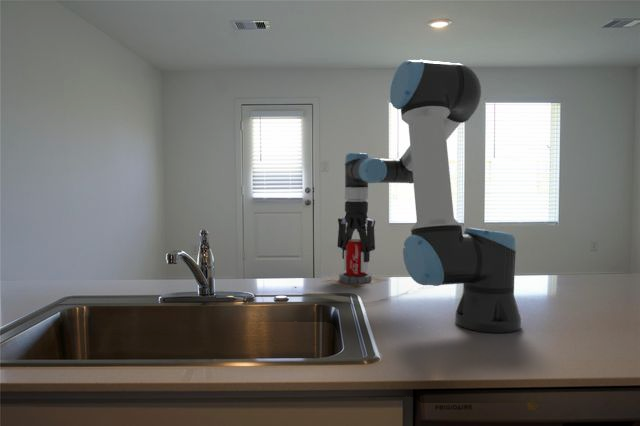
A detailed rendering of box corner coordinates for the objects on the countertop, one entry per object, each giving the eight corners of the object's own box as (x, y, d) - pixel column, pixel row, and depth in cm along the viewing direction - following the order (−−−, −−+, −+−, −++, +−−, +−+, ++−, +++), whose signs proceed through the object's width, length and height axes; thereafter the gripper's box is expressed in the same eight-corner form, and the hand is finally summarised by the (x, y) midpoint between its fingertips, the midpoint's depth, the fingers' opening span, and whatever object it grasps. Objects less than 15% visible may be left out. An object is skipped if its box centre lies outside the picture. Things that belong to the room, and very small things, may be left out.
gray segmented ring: (358, 285, 165) (358, 278, 165) (333, 280, 172) (333, 274, 172) (377, 280, 173) (377, 274, 173) (352, 276, 180) (352, 270, 180)
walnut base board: (356, 292, 161) (356, 287, 161) (321, 286, 170) (321, 281, 170) (388, 283, 175) (388, 279, 175) (354, 278, 184) (354, 274, 184)
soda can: (342, 275, 174) (343, 239, 173) (359, 274, 177) (359, 238, 176) (351, 278, 168) (352, 241, 167) (368, 277, 171) (369, 240, 170)
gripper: (387, 201, 167) (386, 272, 169) (340, 199, 180) (339, 265, 181) (374, 201, 162) (373, 275, 163) (326, 200, 174) (326, 268, 176)
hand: (355, 270), depth 172 cm, fingers closed on soda can, 6 cm apart
